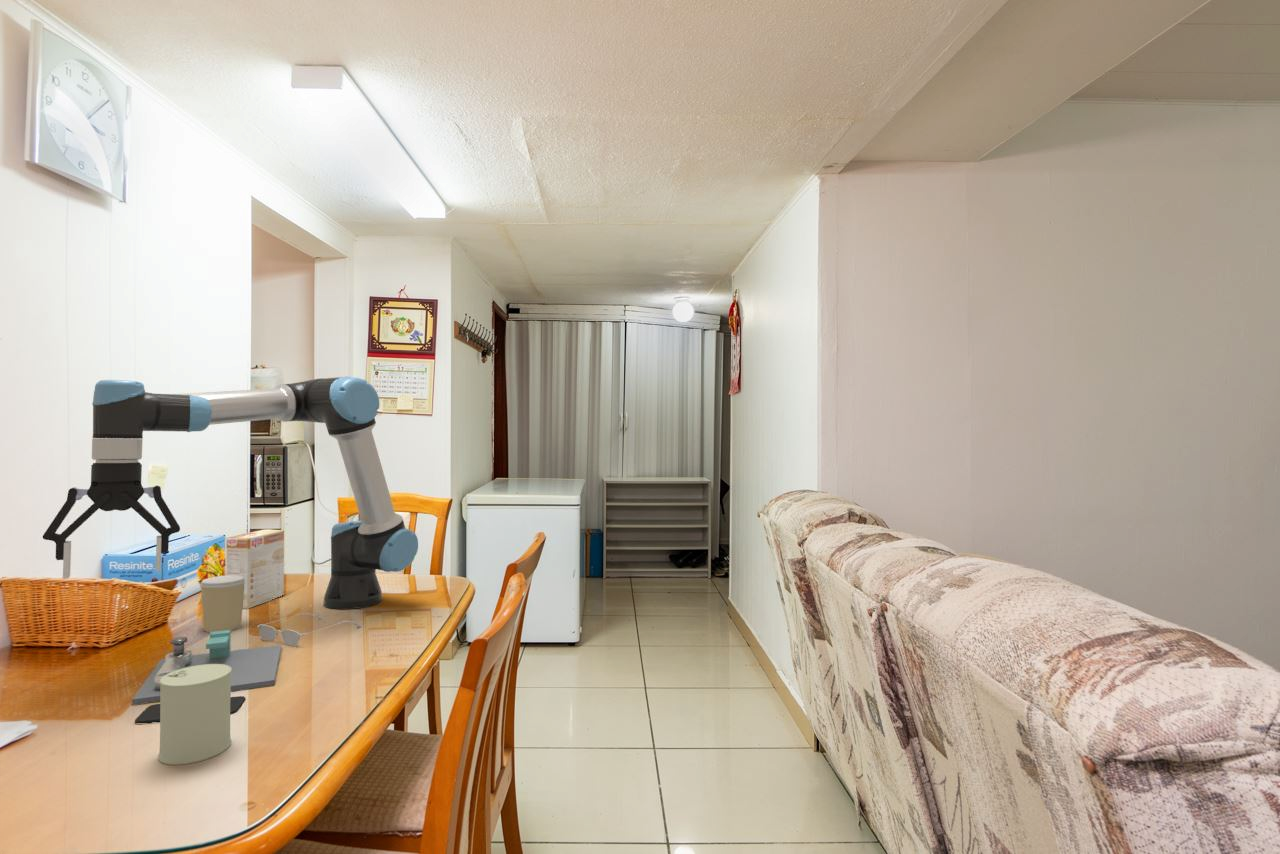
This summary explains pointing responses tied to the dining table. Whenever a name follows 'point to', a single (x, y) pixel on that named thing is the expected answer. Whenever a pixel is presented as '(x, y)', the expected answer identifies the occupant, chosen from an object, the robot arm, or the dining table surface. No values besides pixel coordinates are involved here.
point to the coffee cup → (222, 602)
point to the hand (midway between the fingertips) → (113, 573)
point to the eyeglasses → (288, 632)
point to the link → (174, 659)
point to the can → (194, 713)
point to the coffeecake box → (257, 564)
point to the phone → (153, 711)
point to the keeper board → (246, 664)
